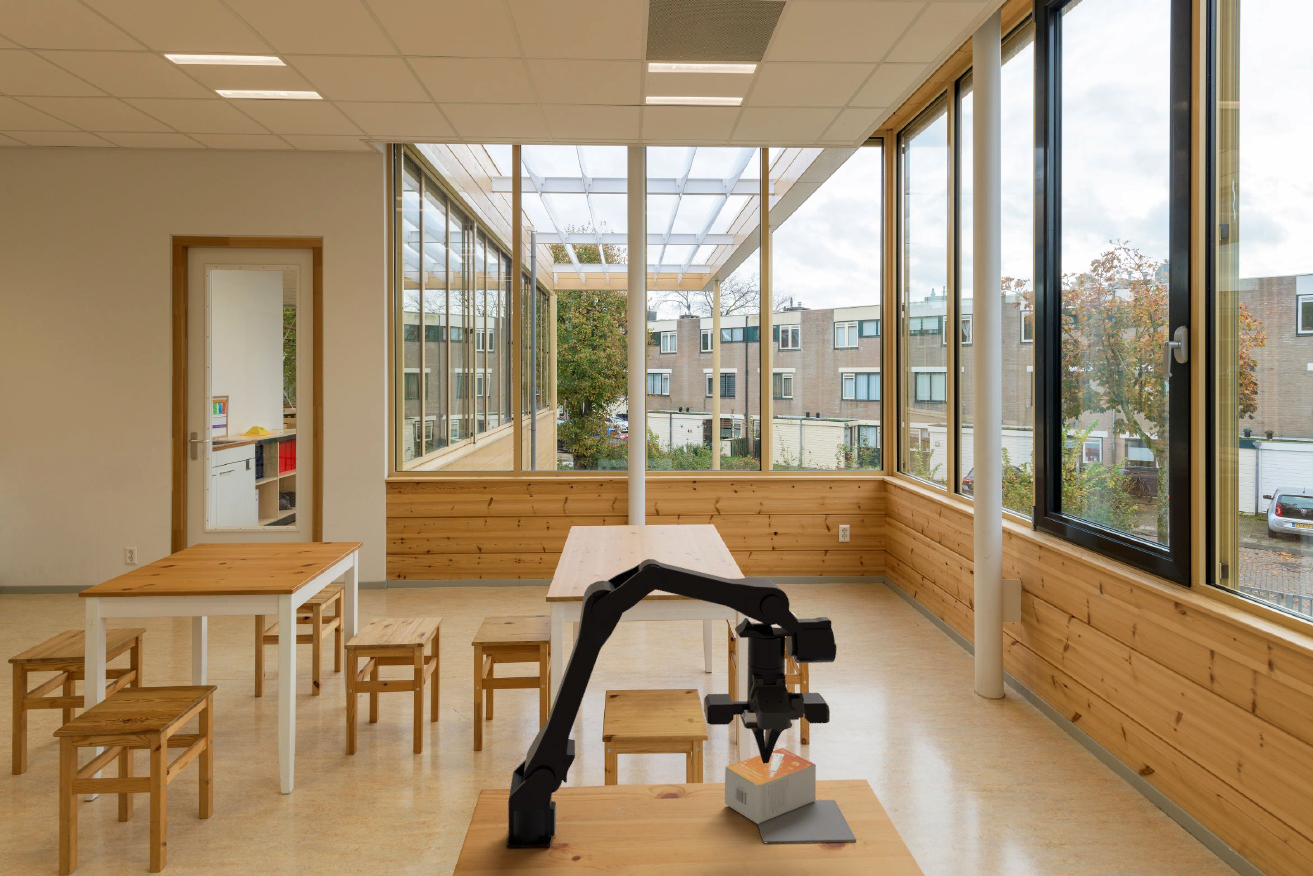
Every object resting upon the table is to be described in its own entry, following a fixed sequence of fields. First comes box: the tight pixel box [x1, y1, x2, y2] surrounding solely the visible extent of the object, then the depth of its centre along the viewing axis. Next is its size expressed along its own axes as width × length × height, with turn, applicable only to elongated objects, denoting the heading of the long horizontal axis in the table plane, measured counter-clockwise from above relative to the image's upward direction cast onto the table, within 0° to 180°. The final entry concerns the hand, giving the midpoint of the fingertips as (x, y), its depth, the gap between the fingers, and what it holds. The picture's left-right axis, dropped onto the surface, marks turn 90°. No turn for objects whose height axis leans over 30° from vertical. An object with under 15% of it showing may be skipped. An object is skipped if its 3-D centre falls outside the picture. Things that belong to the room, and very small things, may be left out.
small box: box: [724, 747, 817, 825], centre depth 131 cm, size 8×6×13 cm
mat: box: [757, 799, 857, 844], centre depth 126 cm, size 14×12×1 cm
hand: (765, 762), depth 124 cm, fingers closed
